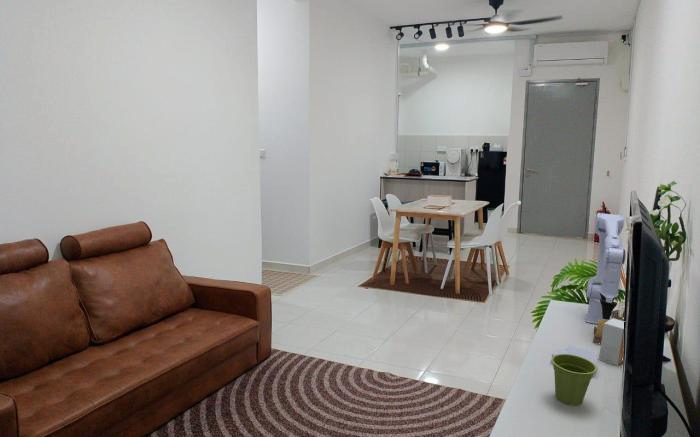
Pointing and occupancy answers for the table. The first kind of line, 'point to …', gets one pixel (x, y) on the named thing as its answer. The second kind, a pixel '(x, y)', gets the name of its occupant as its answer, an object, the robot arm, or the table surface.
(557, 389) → the plant pot
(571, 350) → the wedge on round base
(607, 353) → the small box
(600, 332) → the ochre block
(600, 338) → the notched board
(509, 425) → the table surface
